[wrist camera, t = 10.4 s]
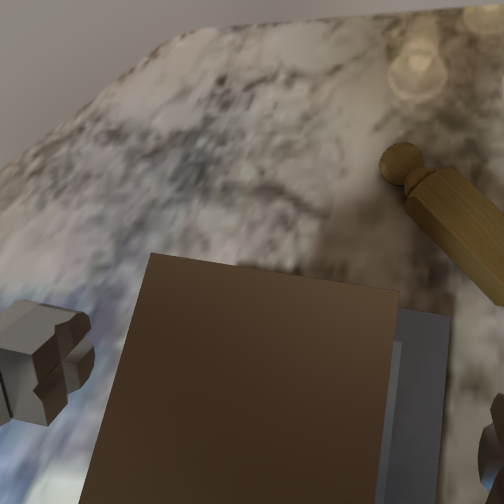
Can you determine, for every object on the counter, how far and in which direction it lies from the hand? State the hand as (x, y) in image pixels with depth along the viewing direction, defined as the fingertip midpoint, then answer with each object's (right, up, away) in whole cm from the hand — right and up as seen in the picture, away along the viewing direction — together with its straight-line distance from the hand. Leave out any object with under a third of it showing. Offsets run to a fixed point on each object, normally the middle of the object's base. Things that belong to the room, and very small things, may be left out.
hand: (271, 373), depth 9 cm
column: (+2, -5, +12) cm, 13 cm away
